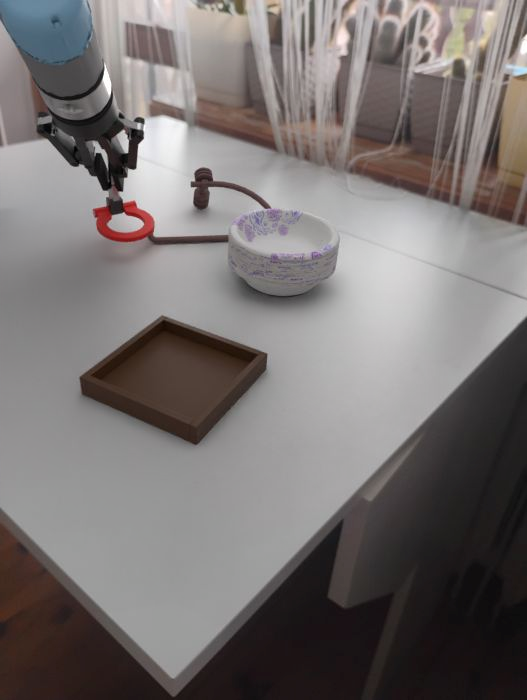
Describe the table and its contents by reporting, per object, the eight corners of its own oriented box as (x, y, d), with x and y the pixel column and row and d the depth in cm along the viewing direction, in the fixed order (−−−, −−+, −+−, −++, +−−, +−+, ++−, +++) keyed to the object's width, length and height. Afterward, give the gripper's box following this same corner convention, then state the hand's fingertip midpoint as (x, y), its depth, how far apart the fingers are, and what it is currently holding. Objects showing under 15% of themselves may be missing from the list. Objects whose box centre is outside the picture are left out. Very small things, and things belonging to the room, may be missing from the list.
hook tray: (81, 393, 67) (79, 376, 65) (162, 330, 77) (162, 314, 76) (196, 444, 62) (196, 427, 60) (266, 369, 72) (267, 353, 71)
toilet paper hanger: (146, 237, 95) (140, 164, 100) (147, 266, 102) (141, 197, 108) (285, 233, 99) (272, 163, 105) (275, 261, 107) (264, 195, 112)
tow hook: (163, 237, 92) (139, 205, 98) (162, 156, 84) (136, 126, 89) (108, 250, 89) (86, 216, 94) (101, 166, 80) (77, 134, 85)
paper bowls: (285, 321, 81) (291, 266, 76) (204, 278, 89) (205, 226, 84) (354, 282, 90) (362, 232, 86) (275, 247, 98) (279, 198, 94)
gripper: (7, 119, 68) (61, 204, 91) (142, 127, 69) (162, 209, 92) (13, 56, 69) (65, 156, 92) (146, 65, 70) (164, 161, 93)
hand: (113, 182), depth 92 cm, fingers closed on tow hook, 1 cm apart
